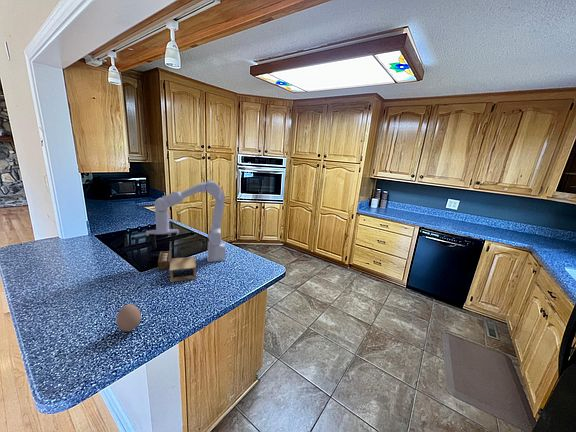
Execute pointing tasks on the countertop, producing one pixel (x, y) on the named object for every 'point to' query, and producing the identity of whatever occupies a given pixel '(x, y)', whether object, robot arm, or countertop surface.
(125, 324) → the egg
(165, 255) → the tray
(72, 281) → the countertop surface
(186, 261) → the shelf
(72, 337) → the countertop surface
